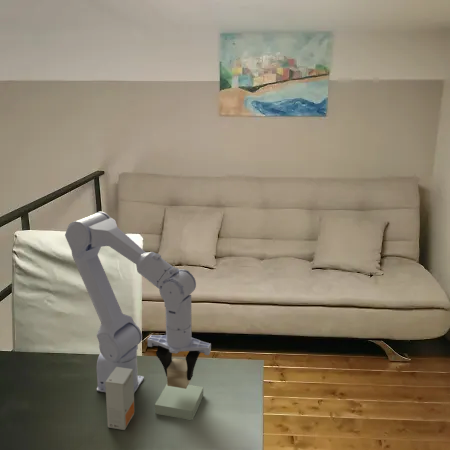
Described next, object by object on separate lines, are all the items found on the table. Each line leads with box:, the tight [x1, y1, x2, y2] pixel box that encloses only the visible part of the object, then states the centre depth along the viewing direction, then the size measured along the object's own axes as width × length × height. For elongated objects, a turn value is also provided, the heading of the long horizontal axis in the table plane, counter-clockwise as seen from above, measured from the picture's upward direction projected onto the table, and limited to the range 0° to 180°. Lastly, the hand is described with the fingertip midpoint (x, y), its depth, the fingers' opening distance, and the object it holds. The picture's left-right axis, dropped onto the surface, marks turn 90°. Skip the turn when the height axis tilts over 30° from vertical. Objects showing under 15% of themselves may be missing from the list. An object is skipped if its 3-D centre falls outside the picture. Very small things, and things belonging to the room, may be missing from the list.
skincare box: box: [105, 367, 135, 431], centre depth 112 cm, size 6×4×12 cm
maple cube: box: [166, 357, 191, 389], centre depth 116 cm, size 4×4×4 cm
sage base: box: [154, 383, 204, 421], centre depth 119 cm, size 9×9×2 cm
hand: (179, 376), depth 117 cm, fingers closed on maple cube, 4 cm apart
